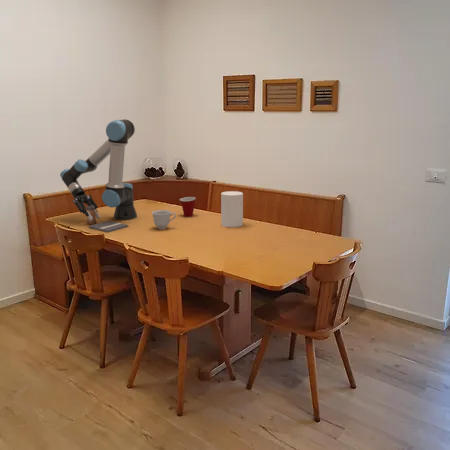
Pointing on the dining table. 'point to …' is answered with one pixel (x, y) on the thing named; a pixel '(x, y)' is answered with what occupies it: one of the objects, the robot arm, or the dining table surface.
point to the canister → (232, 209)
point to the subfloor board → (108, 226)
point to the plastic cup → (188, 205)
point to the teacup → (162, 218)
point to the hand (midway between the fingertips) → (95, 218)
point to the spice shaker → (92, 213)
